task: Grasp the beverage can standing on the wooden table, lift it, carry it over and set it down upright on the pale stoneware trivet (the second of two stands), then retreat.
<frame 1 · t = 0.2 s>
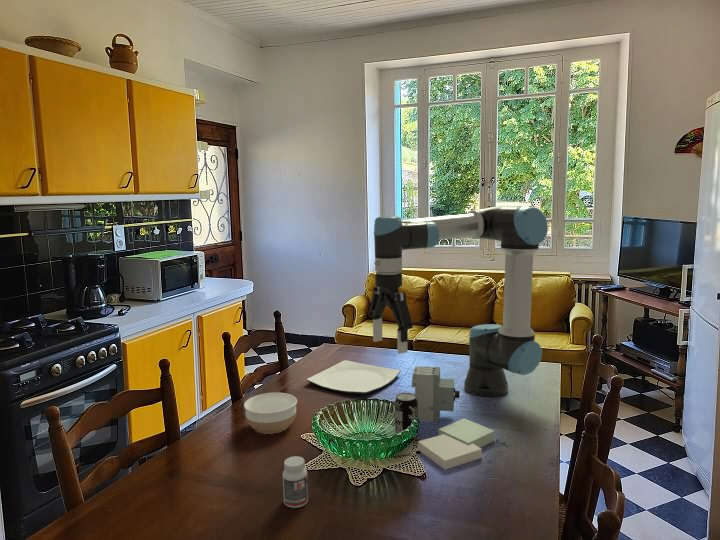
hand: (389, 346, 149), 27 cm above the table, fingers open, 13 cm apart
stand 1: (466, 439, 150), on the table
plate: (354, 382, 199), on the table
pill bottle: (296, 502, 122), on the table
circuit breaker: (436, 417, 165), on the table
stand 2: (449, 453, 142), on the table
beverage can: (406, 436, 153), on the table
bowl: (271, 427, 161), on the table
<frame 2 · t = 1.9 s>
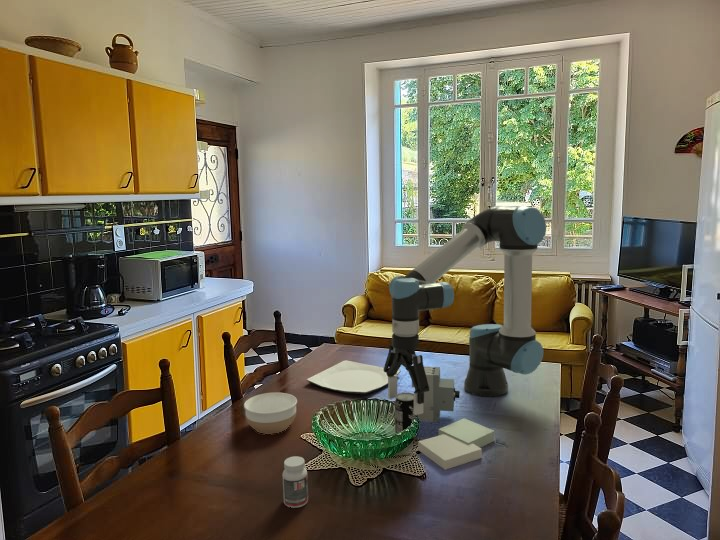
hand: (405, 405, 152), 9 cm above the table, fingers open, 13 cm apart
nothing on the table moved.
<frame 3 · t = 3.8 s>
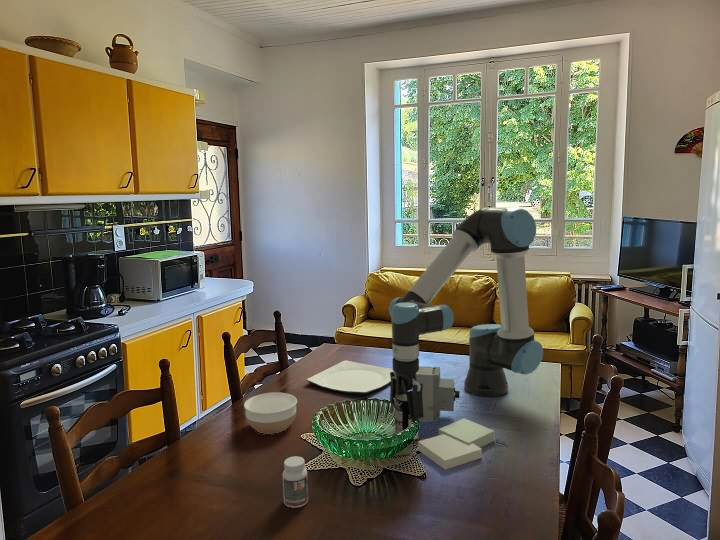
hand: (406, 433, 153), 1 cm above the table, fingers closed on beverage can, 7 cm apart
beverage can: (406, 436, 153), on the table, touching gripper
everything else where it was.
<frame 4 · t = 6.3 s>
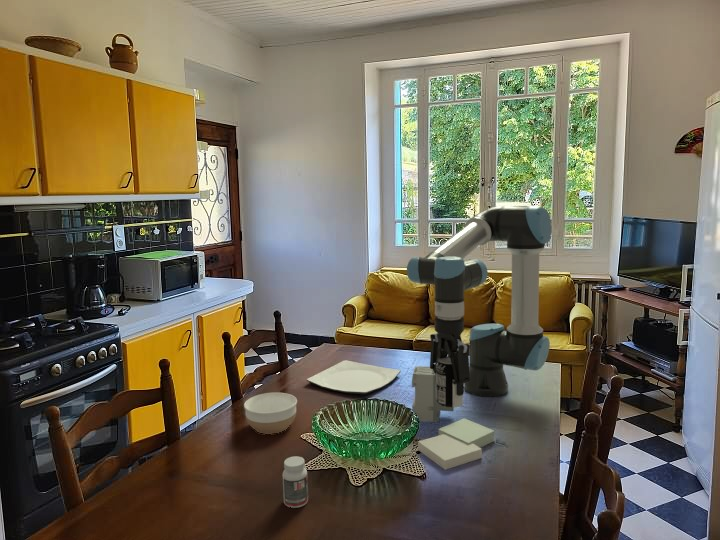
hand: (449, 401, 140), 15 cm above the table, fingers closed on beverage can, 7 cm apart
beverage can: (448, 403, 140), point 14 cm above the table, touching gripper
everything else where it was.
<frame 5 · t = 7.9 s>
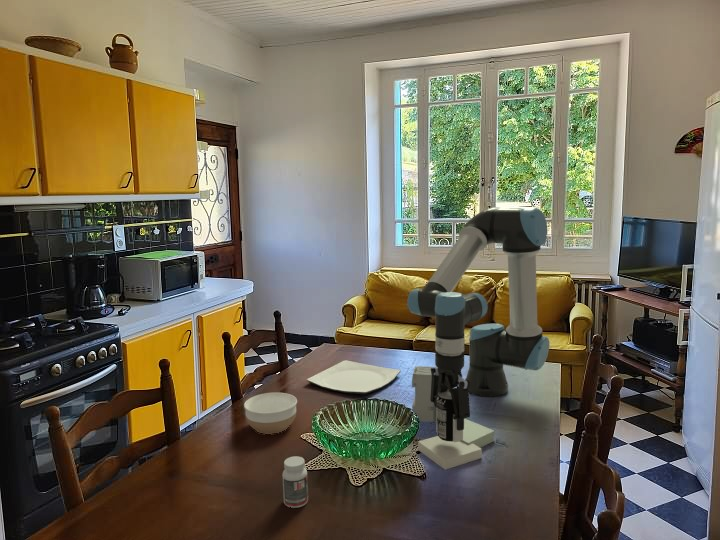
hand: (449, 434, 141), 5 cm above the table, fingers closed on beverage can, 7 cm apart
beverage can: (449, 437, 141), point 5 cm above the table, touching gripper
everything else where it was.
when the fingers open (4 cm above the table, at t = 8.9 s): beverage can drops 1 cm, resting on stand 2.
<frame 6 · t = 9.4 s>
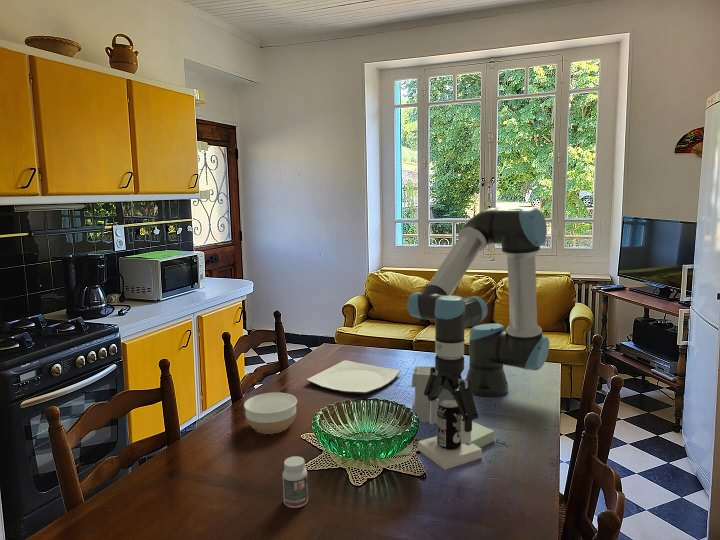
hand: (449, 432, 141), 6 cm above the table, fingers open, 13 cm apart
beverage can: (449, 445, 142), point 2 cm above the table, touching stand 2
everything else where it was.
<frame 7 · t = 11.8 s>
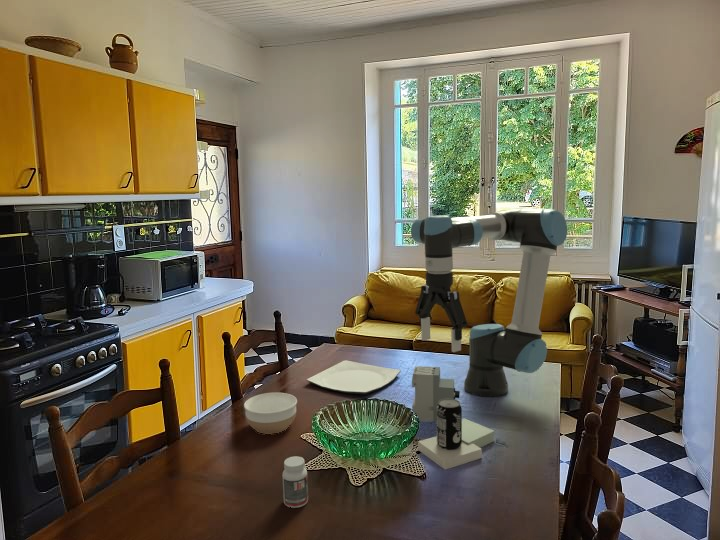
hand: (440, 345, 150), 27 cm above the table, fingers open, 13 cm apart
nothing on the table moved.
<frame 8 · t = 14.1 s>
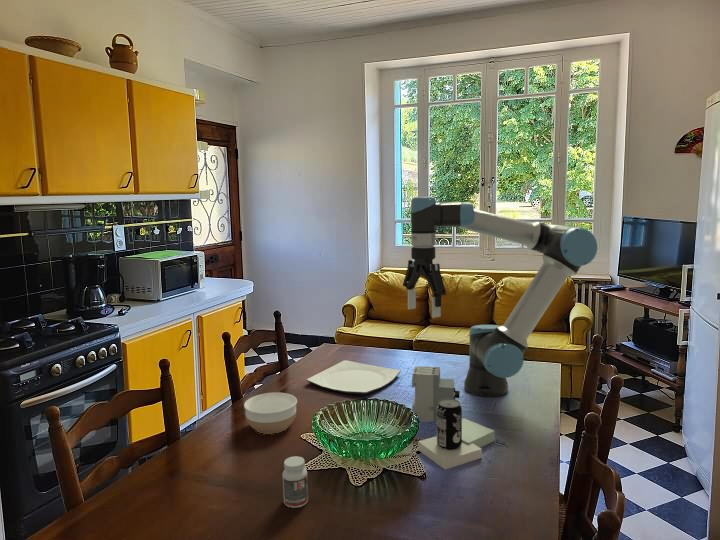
hand: (423, 312, 168), 32 cm above the table, fingers open, 13 cm apart
nothing on the table moved.
at the end: beverage can inside the target area on the stand 2 (0.1 cm from its centre), point 2.3 cm above the stand 2's base; beverage can tilted 0°; the gripper is holding nothing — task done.
